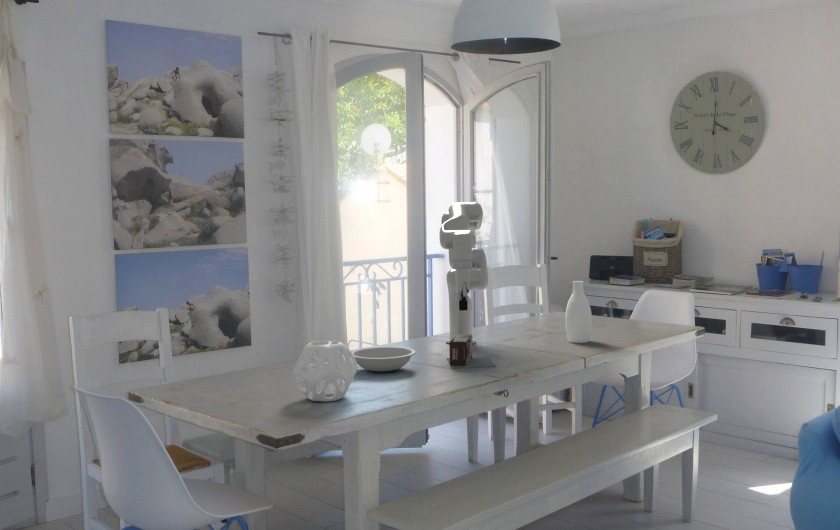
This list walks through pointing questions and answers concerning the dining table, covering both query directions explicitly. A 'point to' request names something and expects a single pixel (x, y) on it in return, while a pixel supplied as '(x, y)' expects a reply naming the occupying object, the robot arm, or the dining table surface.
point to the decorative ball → (325, 370)
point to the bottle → (578, 315)
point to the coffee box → (461, 350)
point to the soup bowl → (383, 358)
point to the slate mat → (477, 363)
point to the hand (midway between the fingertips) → (463, 310)
